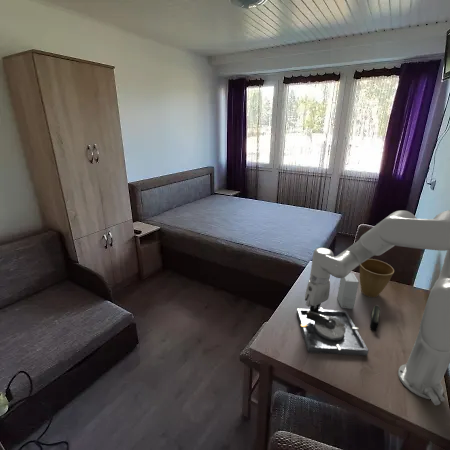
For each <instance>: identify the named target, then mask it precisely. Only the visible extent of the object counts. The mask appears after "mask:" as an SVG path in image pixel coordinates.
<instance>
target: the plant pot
mask: <svg viewBox="0 0 450 450" xmlns="http://www.w3.org/2000/svg"><path fill="white" fill-rule="evenodd" d="M394 274H395V269H394V268H393V267H392V266H391V264H388V263H387V262H384V261H382V260H379V259H375V258H374V259H373V258H369V259H367V260H366V261H364V262H363V263H361V264H360V265H359V283H360V289H361V292H362V294H363V295H365V296H366V297H369V298H377V297H378V296H379V295H380V294H381V292H383V291H384V289H385V288H386V286H387V285H388V284H389V282H390V280H391V278H392V276H393V275H394Z"/></svg>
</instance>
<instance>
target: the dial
mask: <svg viewBox="0 0 450 450" xmlns="http://www.w3.org/2000/svg"><path fill="white" fill-rule="evenodd" d="M306 318H307V319H310V320H313V321H315V323H314V329H315V331H316V332H317V333H318V334H319V335H320V336H322V337H323V338H325V339H328V340H333V341H337V340H341V339H342V338H343V337H344V335H345V331H346V329H345V326H344V325H343V323H342V322H341V321H339V320H338V319H336V318H334V317H331V316H324V315H322V314H319V313H316V312H313V311H311V310H308V312H307V317H306Z"/></svg>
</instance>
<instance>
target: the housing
mask: <svg viewBox="0 0 450 450" xmlns="http://www.w3.org/2000/svg"><path fill="white" fill-rule="evenodd" d="M308 310H310V308H296V315H297V320H298V323H299V326H300V330H301V333H302V337H303V339H304V343H305V346H306V349H307V352H308V353H311V354H312V353H313V354H330V355H347V356H348V355H351V356H368V354H369V351H370V350H369V348H368V347H367V345H366V343H365V341H364V339H363V338H362V336H361V335H360V332H359V331H358V330H360V329H359V327H357V326H356V324H354V322H353V320H352V319H351V317H350V316H349V313H348V311H347V310H338V309H337V310H336V309H335V310H334V309H324V308H323V307H319V310H318V313H319V314H322V315H324V316H331V317H334V318H336V319H338V320H339V321H341V322H342V323H343V325H344V326H345V329H346V331H345V335H344V337H343V338H342V339H341V340H337V341H333V340H328V339H325V338H323V337H322V336H320V335H319V334H318V333H317V332H316V331H315V329H314V323H315V321H313V320H310V319H307V318H306V317H307V312H308Z"/></svg>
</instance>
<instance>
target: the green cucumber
mask: <svg viewBox="0 0 450 450" xmlns="http://www.w3.org/2000/svg"><path fill="white" fill-rule="evenodd" d="M380 307H381V306H379V305H376V304H375V305H373V308H372V310H371V314H370V322H369V328H370V330H371V331H373V332H377V331H378V328H379V325H380V324H379V320H380V313H381V308H380Z"/></svg>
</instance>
